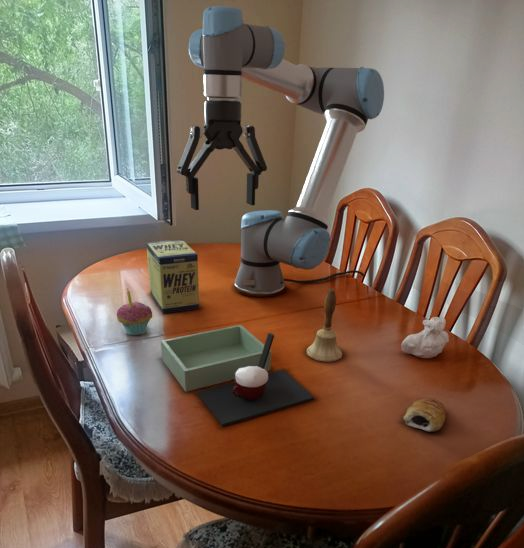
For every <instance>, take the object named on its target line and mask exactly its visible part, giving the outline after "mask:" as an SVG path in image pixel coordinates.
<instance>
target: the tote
mask: <svg viewBox="0 0 524 548" xmlns="http://www.w3.org/2000/svg"><path fill="white" fill-rule="evenodd" d="M264 345H265V343H263V342H262V341H260V340H259V339H258V338H257V337H256V336H255V335H254V334H252V332H250V331H249V330H248V329H246V328H245V326H243V325H242V324H238V325H237V324H236V325H232V326H227V327H226V326H225V327H222V328H218V329H217V328H216V329H212V330H207V331H202V332H197V333H193V334H188V335H183V336H178V337H173V338H168V339H163V340H160V346H161V347H160V348H161V359H162V362H163V363H164V364H165V365H166V367H167V369H169V372H171V374H172V375H173V376H174V378H175V379H176V380H177V383H179V385H180V386H181V387H182V389H183V390H184V391H185V393H186V392H190V391H195V390H200V389H202V388H206V387H211V386H214V385H219V384H221V383H226V382H230V381H235V373H236V372H237V370H238V369H239V368H244V367H248V366H258V364H259V361H260V358H261V355H262V351H263V348H264ZM271 365H272V350H271V349H270V351H269V354H268V358H267V361H266V364H265V367H264V369H265V370H266V371H267V372H269V371H271V367H272V366H271Z"/></svg>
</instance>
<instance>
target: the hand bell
mask: <svg viewBox="0 0 524 548" xmlns="http://www.w3.org/2000/svg"><path fill="white" fill-rule="evenodd" d="M323 302H324V304H323V309H324V321H323V322H324V323H323V328H321V329H318V330H317V332H316V335H315V338H314V341H313V342H312V344H311V345H309V346H308V347H307V349H306V355H307V356H309V358H311V359H313V360H315V361H318V362H324V363H330V362H332V363H333V362H337V361H339V360H340V359H341V358H342V357H343V353H342V352H343V351H342V350H341V349H340V348H339V346H338V343H337V342H338V341H337V333H336V332H335V331H334V330H332V322H333V315H334V312H335V310H336V307H337V297H336V290H335V289H334V288H329V289H328V291H327V293H326V296H325V299H324V301H323Z"/></svg>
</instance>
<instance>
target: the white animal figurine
mask: <svg viewBox="0 0 524 548" xmlns="http://www.w3.org/2000/svg"><path fill="white" fill-rule="evenodd" d="M446 323H447V321H446V318H444V317H441V318H440V317H439V316H432V317H431V318H430V319H428V318H427V319H426V318H425V319H423V320H422V325H423V326H424V329H423V330H421V331H419V332H418V333H411V334H409V335H408V336H406V337H405V338H404V339H403V340H402V341H401V345H400V347H401V351H402V353H404V354H406V355H407V354H409V355H413V356H415V357H418V358H421V359H432V358H435V357H437V356H438V355H439V354H441V353H443V349H444V348H445V346H446V345H447V344H448V343H449V342H450V340H449V338H450V336H449V333H448V332H447V331H445V327H446Z"/></svg>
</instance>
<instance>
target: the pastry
mask: <svg viewBox="0 0 524 548" xmlns="http://www.w3.org/2000/svg"><path fill="white" fill-rule="evenodd" d="M446 416H447V415H446V407H445V404H444V403H443V402H441V401H440V400H437V399H436V398H432V397H426V398H421V399H417V400H416V401H414V402H413V403H412V404H411V405H409V406H408V407H407V409H406V413H405V415H404V416H403V421H404V422H405V425H407V426H408V427H411V428H414V429H418V430H422V431H425V432H429V433H433V432H435V433H436V432H438V431H439V430H441V429H442V428H443V426H444V423H445V420H446Z"/></svg>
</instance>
